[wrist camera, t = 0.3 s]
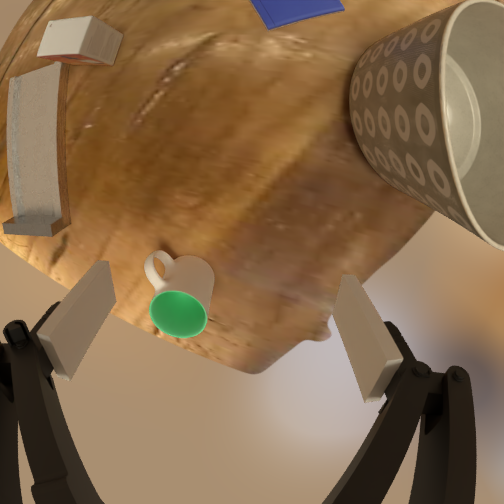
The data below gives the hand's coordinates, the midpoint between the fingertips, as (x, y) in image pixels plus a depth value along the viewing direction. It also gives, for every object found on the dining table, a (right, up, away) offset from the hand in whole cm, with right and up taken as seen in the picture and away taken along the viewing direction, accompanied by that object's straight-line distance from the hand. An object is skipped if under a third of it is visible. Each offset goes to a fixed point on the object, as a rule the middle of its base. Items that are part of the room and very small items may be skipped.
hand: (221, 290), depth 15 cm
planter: (+26, +23, +20) cm, 41 cm away
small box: (-22, +33, +15) cm, 42 cm away
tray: (-35, +20, +20) cm, 45 cm away
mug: (-10, -1, +31) cm, 32 cm away
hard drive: (+8, +39, +13) cm, 42 cm away
